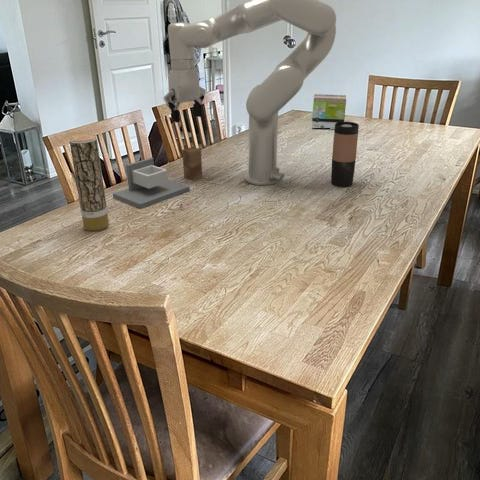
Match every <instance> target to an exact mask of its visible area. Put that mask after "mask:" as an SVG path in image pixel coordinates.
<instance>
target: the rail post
mask: <svg viewBox="0 0 480 480" xmlns="http://www.w3.org/2000/svg"><path fill="white" fill-rule="evenodd" d="M181 153H182V164H183V165H182V166H183V167H182V168H183V178H185V179H187V180H190V181H196V180H199V179H201V178H203V163H202V162H203V160H202V149H201V148H198V147H192V146H191V147H188V148H184V149H182V152H181Z"/></svg>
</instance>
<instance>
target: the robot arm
mask: <svg viewBox="0 0 480 480" xmlns="http://www.w3.org/2000/svg"><path fill="white" fill-rule="evenodd" d="M280 21H283V22H286V23H288V24H290V25H292V26H294V27H296V28H298V29H301V30H303V31H305V32H307V34H306V36H305V38H304V39H303V40H302V41H301V42H300V43H299V44H298V45H297V47H296V48H294V50H293V51H292V52H291V53H289V55H287V57H286V58H285V59H284V60H282V61H281V62H280V63H278V64H277V65H276V67H275V68H274V70H273V71H272V72H271V73H270V74H269V75H268V76H267V78H265V79H264V80H263V81H262V82H261V83H260V84H258V85H256V86H254V87H253V88H252V89H251V91H250V93H249V94H248V97H247V100H246V103H245V108H246V112H247V114H248V172H247V173H245V175H243V176H244V178H243V179H244V182H246V183H249V184H251V185H255V186H257V185H258V186H270V185H275V184H277V183H279V182H282V181H283V180H284V177H285V173H284V172H283V173H282V172H280V167H277V165H278V164H277V163H278V161H277V160H278V132H279V131H278V127H279V111H281V109H283V108H284V107H285V106H286V104H288V103H289V102H290V101H291V100H292V99H293V98H294V97H296V96H297V94H298V93H299V92H300V91H301V89H302V87H303V85H304V83H305V80H306V79H307V77H308V76H310V74H311V73H312V72H313V71H315V69H316V68H317V67H318V66H319V65H320V64H321V63H322V62H323V61H324V60H325V59H326V58H327V56H328V55H329V53H330V52H331V50H332V48H333V46H334V42H335V39H336V33H337V31H336V30H337V26H336V24H337V15H336V12H335V10H334V8H333V7H332V6H330V5H329V4H327V3H324V2H322V1H321V0H246V1H243V2H242V3H239V4H238V5H237V6H235V7H233V8H232V9H230V10H228V11H226V12H223V13H221V14H218V15H216V16H213V17H211V18H208V19H204V20H202V21H197V22H192V23H190V22H186V21H185V22H184V21H183V22H179V21H178V22H172V23H170V24H169V23H168V26H167V35H168V46H169V56H170V57H169V58H170V66H171V67H170V68H171V69H170V70H169V71H168V72H169V73H168V92H167V94H165V95H164V96H163V100H164V102H165V105H166V106H167V108H169V110H170V112H171V121H172V122H174V123H180V122H181V118H180V117H181V116H180V110H179V106H180V105H181V104H183V103H189V102H193V105H192V107H193V116H194V117H197V118H202V105H203V104H204V103H203V101H204V99H205V96H206V91H207V90H206V89H205V88H203V87H201V86H200V81H199V74H198V71H197V70H198V69H197V68H196V64H197V60H196V59H195V50H194V49H195V48H197V49H198V48H200V49H207V48H211V47H212V46H213V45H216V44H218V43H220V42H222V41H225V40H228V39H231V38H233V37H235V36H238V35H243V34H249V33H253V32H255V31H258V30H261V29H262V28H266V27H268V26H271V25H273V24H275V23H278V22H280Z"/></svg>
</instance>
